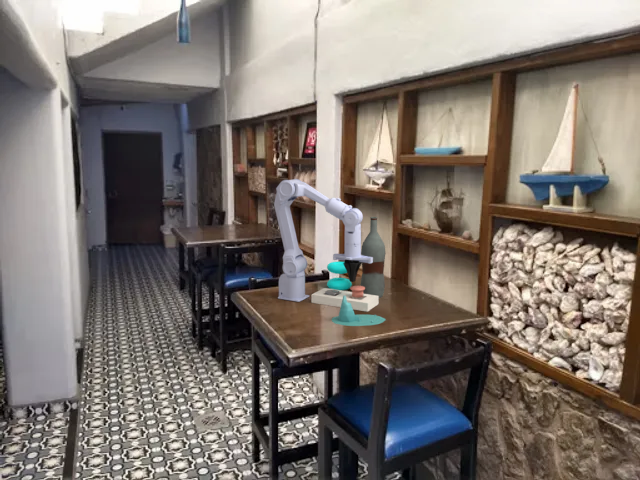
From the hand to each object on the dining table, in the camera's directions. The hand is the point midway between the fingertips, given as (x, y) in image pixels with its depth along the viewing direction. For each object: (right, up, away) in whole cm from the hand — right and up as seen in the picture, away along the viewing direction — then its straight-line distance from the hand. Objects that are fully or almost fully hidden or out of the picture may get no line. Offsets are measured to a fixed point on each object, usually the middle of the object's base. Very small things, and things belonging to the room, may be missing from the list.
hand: (352, 281), depth 171 cm
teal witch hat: (+1, -12, -15) cm, 19 cm away
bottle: (+8, -7, +13) cm, 17 cm away
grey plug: (-7, -7, +5) cm, 11 cm away
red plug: (+2, -5, 0) cm, 6 cm away
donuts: (-4, -5, +24) cm, 24 cm away
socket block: (-3, -8, +3) cm, 9 cm away
